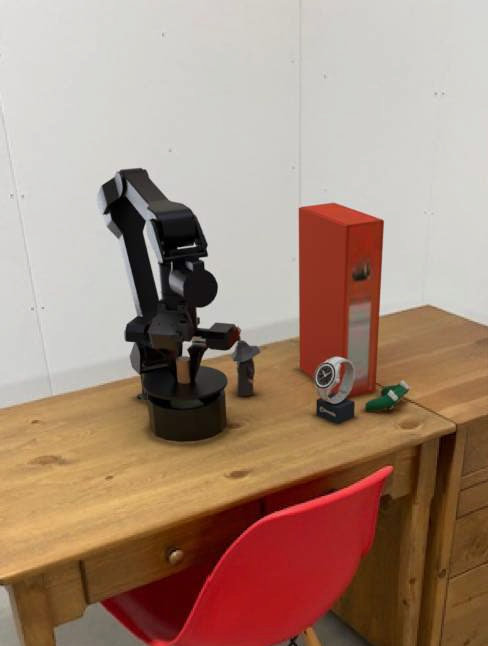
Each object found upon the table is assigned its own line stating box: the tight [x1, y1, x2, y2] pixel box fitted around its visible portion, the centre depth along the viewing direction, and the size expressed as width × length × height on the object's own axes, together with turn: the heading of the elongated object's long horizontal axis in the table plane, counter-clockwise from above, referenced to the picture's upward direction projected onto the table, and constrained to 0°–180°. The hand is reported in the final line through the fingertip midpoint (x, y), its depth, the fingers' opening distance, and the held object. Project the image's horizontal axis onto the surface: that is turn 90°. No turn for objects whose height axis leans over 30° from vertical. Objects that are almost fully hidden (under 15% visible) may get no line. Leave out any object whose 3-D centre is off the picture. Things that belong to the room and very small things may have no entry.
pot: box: [146, 388, 228, 443], centre depth 141 cm, size 14×14×6 cm
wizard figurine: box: [230, 325, 261, 397], centre depth 153 cm, size 8×6×12 cm
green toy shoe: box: [364, 379, 410, 412], centre depth 149 cm, size 9×4×6 cm
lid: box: [141, 355, 229, 401], centre depth 137 cm, size 15×15×5 cm
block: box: [170, 399, 204, 409], centre depth 142 cm, size 4×4×4 cm
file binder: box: [298, 202, 385, 399], centre depth 152 cm, size 8×17×32 cm, turn 26°
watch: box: [313, 357, 356, 425], centre depth 143 cm, size 6×8×11 cm
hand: (184, 380), depth 138 cm, fingers closed on lid, 3 cm apart
